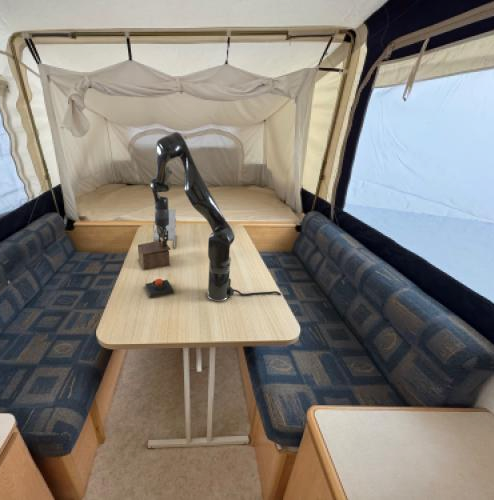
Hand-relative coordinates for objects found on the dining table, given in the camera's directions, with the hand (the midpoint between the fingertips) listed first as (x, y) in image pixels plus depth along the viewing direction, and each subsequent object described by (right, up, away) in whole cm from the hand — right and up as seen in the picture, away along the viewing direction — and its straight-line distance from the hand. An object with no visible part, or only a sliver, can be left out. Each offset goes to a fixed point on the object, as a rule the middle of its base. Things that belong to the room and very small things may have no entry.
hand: (162, 244), depth 149 cm
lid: (-5, -2, -1) cm, 5 cm away
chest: (-5, -11, +3) cm, 12 cm away
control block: (+1, -23, -22) cm, 32 cm away
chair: (-1, +2, +30) cm, 30 cm away
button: (+1, -19, -24) cm, 31 cm away
